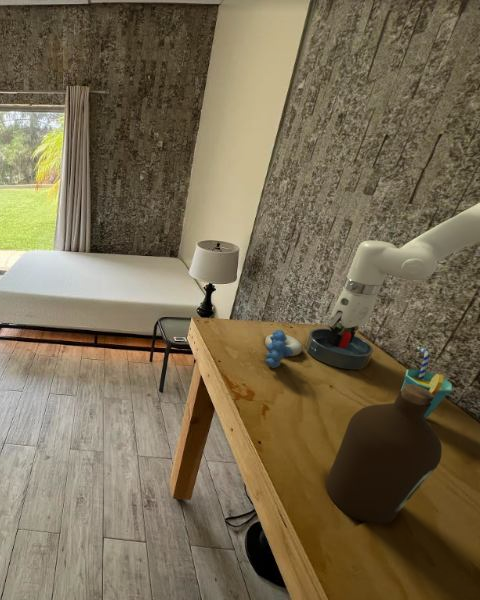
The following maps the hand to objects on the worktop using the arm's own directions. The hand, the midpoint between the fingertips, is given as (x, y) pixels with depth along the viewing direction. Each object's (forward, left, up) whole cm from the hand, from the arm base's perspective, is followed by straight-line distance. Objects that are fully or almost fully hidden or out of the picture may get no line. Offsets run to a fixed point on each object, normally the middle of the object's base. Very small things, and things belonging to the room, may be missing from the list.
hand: (338, 342), depth 94 cm
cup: (+8, +22, -5) cm, 24 cm away
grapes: (+22, -2, -5) cm, 23 cm away
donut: (+12, -8, -5) cm, 15 cm away
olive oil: (+41, +32, -5) cm, 52 cm away
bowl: (0, 0, -5) cm, 5 cm away
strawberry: (0, 0, -1) cm, 1 cm away
